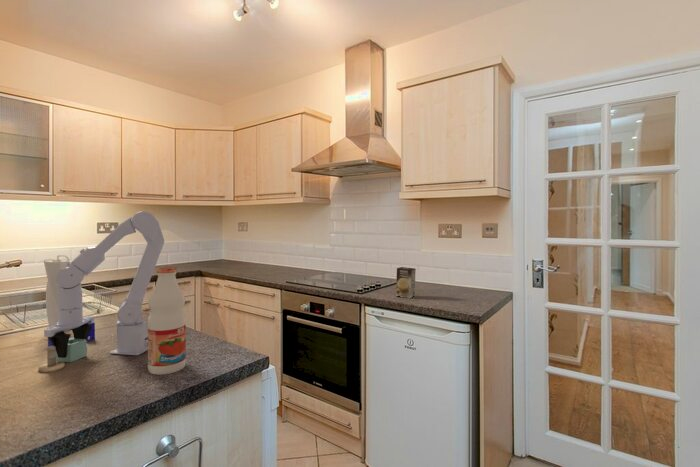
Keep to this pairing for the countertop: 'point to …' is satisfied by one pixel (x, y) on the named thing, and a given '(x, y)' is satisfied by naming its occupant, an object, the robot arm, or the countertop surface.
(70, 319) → the robot arm
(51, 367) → the spindle
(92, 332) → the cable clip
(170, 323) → the fruit juice
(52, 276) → the skyscraper
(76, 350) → the green hollow cube
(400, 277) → the coffee box
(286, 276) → the countertop surface
